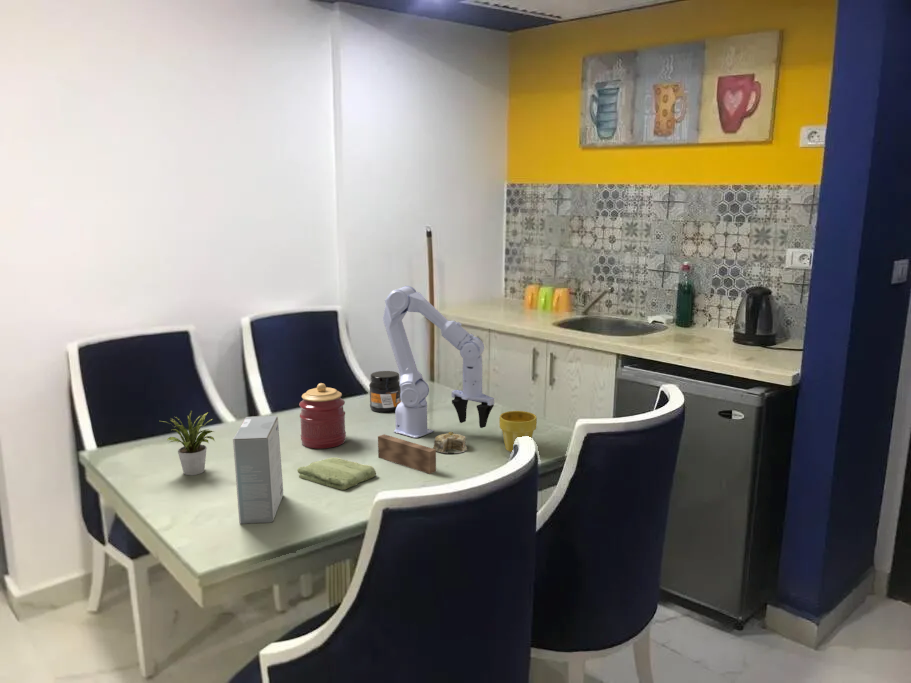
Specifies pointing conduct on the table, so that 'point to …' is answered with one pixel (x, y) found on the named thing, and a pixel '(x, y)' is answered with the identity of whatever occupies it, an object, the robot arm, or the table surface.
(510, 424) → the plant pot
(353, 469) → the washcloth
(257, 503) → the hard drive box
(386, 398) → the supplement container
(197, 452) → the house plant
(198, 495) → the table surface
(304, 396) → the canister
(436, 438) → the cake
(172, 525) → the table surface
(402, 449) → the walnut board
